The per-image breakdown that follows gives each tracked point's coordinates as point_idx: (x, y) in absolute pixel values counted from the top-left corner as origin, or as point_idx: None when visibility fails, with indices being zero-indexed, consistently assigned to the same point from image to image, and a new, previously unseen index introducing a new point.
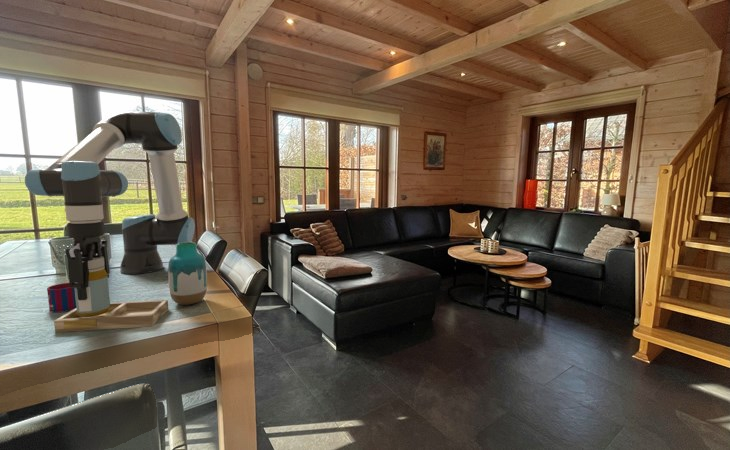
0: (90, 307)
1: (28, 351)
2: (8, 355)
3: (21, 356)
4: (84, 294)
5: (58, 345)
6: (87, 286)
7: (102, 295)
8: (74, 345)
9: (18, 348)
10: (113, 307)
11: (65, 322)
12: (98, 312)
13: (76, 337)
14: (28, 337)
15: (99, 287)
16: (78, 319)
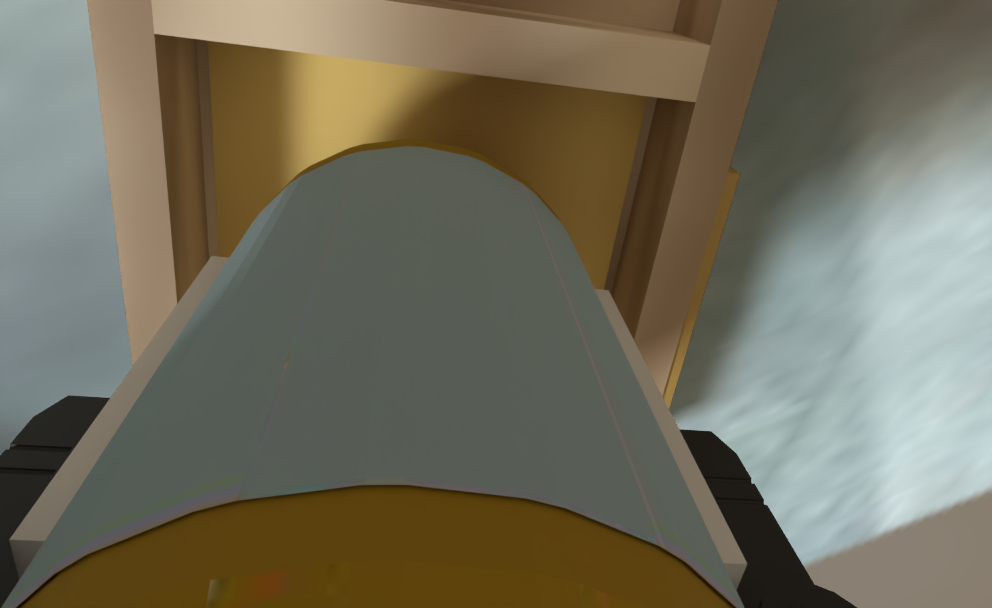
0: (620, 319)
1: (908, 445)
2: (908, 515)
3: (975, 444)
4: (747, 502)
5: (909, 309)
6: (785, 594)
7: (539, 270)
8: (987, 187)
9: (816, 519)
10: (185, 156)
11: None
12: (556, 216)
13: (799, 245)
14: None
15: (621, 395)
16: (677, 345)
